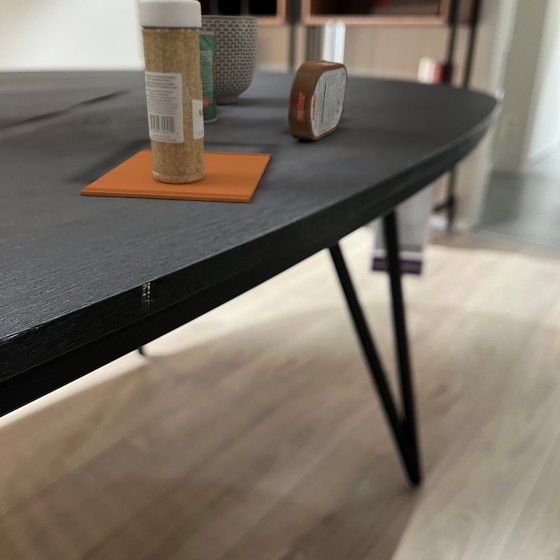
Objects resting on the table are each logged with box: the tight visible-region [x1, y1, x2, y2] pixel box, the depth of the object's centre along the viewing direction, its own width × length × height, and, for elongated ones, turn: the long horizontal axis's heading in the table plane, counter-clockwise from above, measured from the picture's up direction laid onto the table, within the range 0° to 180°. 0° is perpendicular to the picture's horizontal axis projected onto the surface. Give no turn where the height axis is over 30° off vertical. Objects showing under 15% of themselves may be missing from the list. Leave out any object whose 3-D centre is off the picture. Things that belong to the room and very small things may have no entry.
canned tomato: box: [199, 32, 218, 125], centre depth 75 cm, size 8×8×11 cm
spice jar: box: [138, 0, 206, 184], centre depth 45 cm, size 5×5×13 cm
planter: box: [199, 15, 259, 105], centre depth 93 cm, size 14×14×13 cm
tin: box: [287, 59, 348, 142], centre depth 67 cm, size 15×3×8 cm, turn 159°
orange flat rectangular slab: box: [79, 148, 272, 204], centre depth 50 cm, size 13×16×1 cm
